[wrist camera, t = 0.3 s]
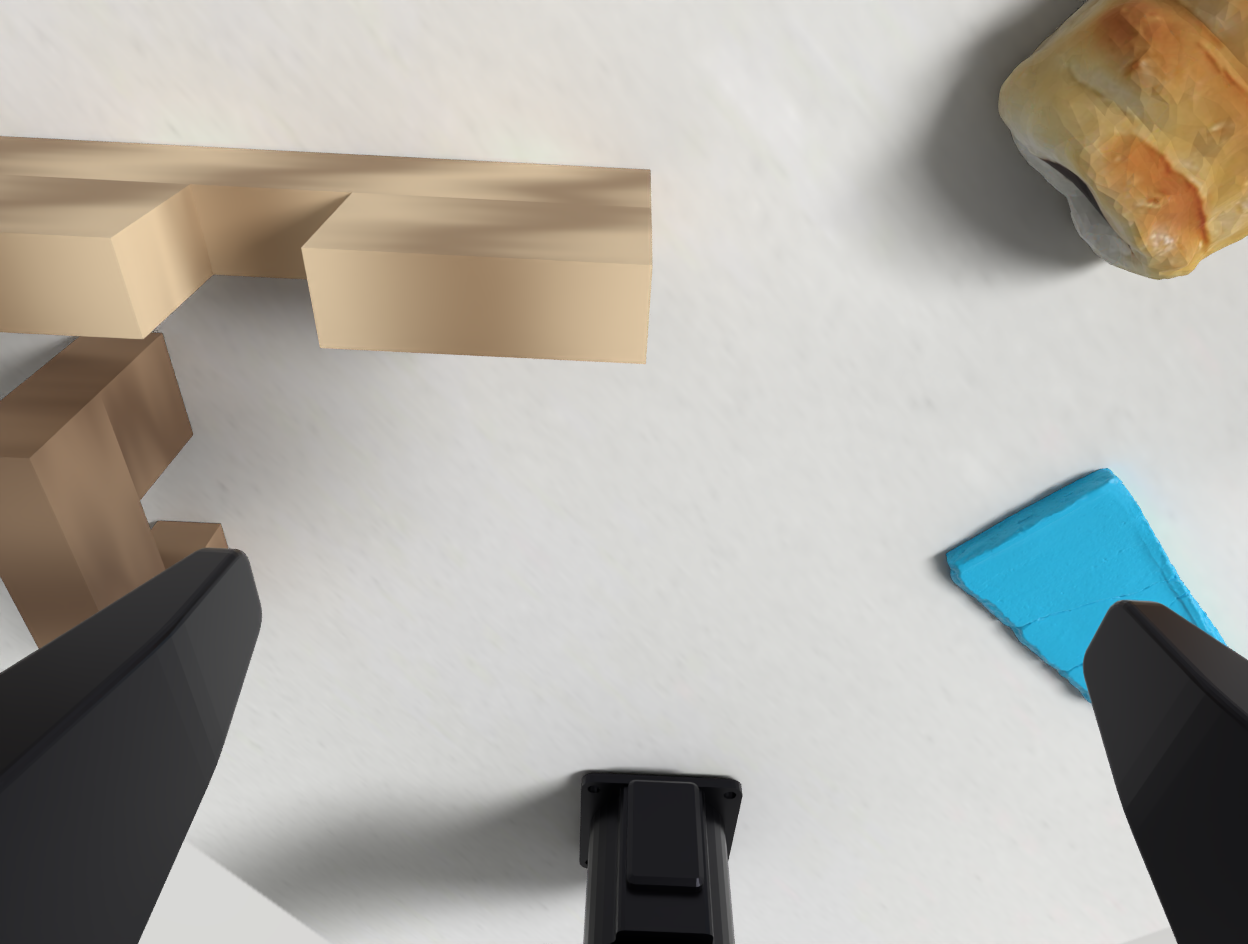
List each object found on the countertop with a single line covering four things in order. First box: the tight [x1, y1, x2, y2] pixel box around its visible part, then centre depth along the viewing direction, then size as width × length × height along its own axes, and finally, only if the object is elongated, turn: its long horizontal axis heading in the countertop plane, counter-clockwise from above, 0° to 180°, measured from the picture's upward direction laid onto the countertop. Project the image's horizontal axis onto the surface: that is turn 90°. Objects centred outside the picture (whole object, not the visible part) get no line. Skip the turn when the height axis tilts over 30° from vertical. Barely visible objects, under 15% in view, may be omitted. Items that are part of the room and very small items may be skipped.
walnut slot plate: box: [0, 333, 228, 649], centre depth 23 cm, size 10×2×6 cm, turn 177°
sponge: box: [946, 468, 1228, 703], centre depth 28 cm, size 2×12×6 cm
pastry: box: [998, 0, 1248, 280], centre depth 17 cm, size 9×7×4 cm
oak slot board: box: [0, 136, 652, 364], centre depth 18 cm, size 16×2×6 cm, turn 87°
